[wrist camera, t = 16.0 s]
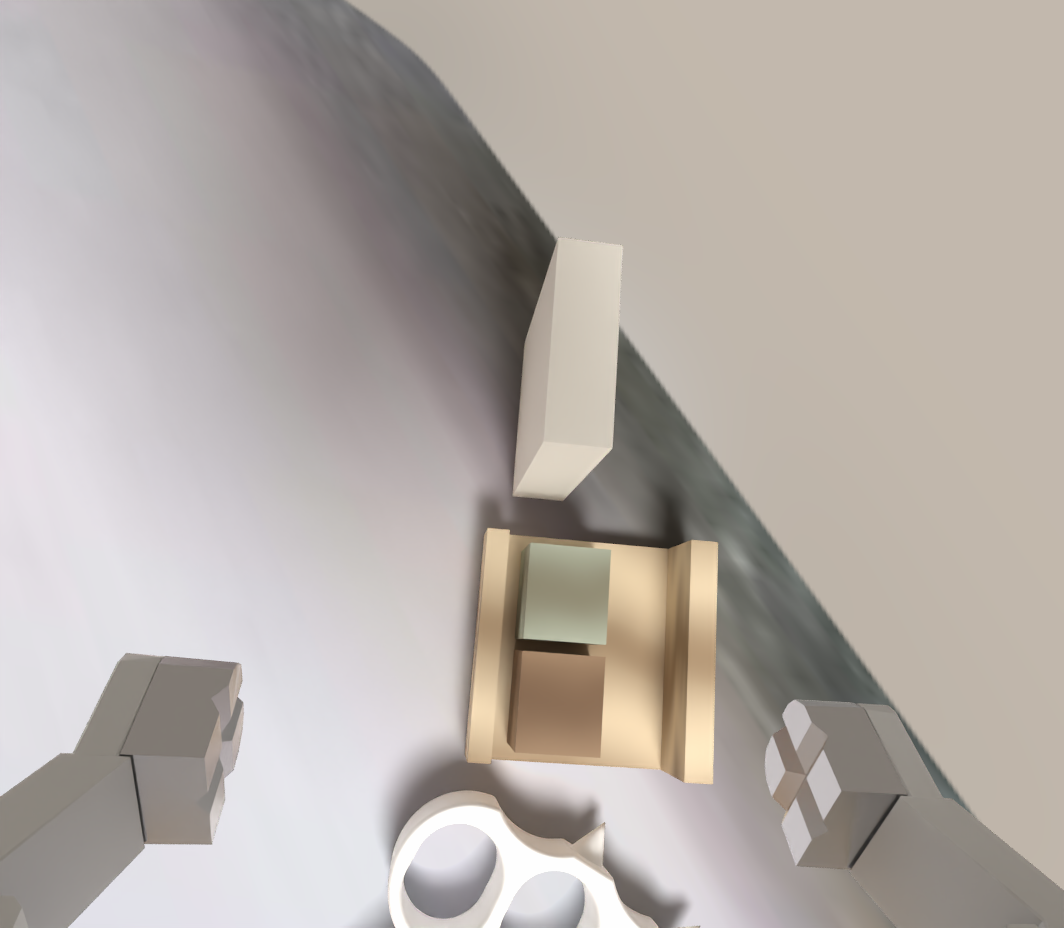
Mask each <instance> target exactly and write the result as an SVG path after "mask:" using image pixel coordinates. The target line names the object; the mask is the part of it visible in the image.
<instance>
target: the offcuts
mask: <svg viewBox="0 0 1064 928" xmlns="http://www.w3.org/2000/svg"><path fill="white" fill-rule="evenodd" d="M610 562H611V550H608V549H597V548H586V547H575V546H563V545H552V544H541V543H530V544H529V545H528V546H527V547H526V548H525V549H524V550H523V551H522V552H521V563H520V576H519V589H518V602H517V615H516V628H515V639H523V640H536V641H549V642H562V643H575V644H588V645H606V639H607V620H608V601H609V581H610ZM605 658H606V657H599V656H586V655H573V654H559V653H546V652H533V651H520V650H514V654H513V667H512V680H511V693H510V706H509V719H508V732H507V743H508V744H509V746H510V747H511V748H512V750H513V751H514V752H515V753H529V754H545V755H561V756H578V757H594V758H600V755H601V736H602V716H603V697H604V678H605Z"/></svg>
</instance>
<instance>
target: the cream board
mask: <svg viewBox="0 0 1064 928" xmlns="http://www.w3.org/2000/svg"><path fill="white" fill-rule="evenodd" d="M622 257H623V245H616V244H608V243H601V242H593V241H585V240H578V239H570V238H562V237H558V240H557V243H556V246H555V249H554V252H553V255H552V259H551V262H550V265H549V268H548V271H547V274H546V277H545V280H544V284H543V287H542V290H541V293H540V296H539V299H538V302H537V305H536V309H535V312H534V315H533V318H532V321H531V324H530V327H529V330H528V334H527V337H526V340H525V344H524V357H523V369H522V382H521V394H520V407H519V419H518V431H517V444H516V456H515V469H514V481H513V494H512V496H516V497H526V498H536V499H547V500H557V501H563V500H564V499H565V498H566V497H567V496H568V495H569V494H570V493H571V492H572V491H573V490H574V489H575V488H576V487H577V485H578V484H579V483H580V482H581V481H582V480H583V479H584V478H585V477H586V476H587V475H588V474H589V473H590V472H591V471H592V470H593V469H594V467H595V466H596V465H597V464H598V463H599V462H600V461H601V460H602V459H603V458H604V457H605V456H606V455H607V454H608V453H609V452H610V451H611V449H612V448H613V429H614V410H615V391H616V372H617V353H618V333H619V314H620V293H621V276H622Z"/></svg>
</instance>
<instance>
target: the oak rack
mask: <svg viewBox="0 0 1064 928" xmlns="http://www.w3.org/2000/svg"><path fill="white" fill-rule="evenodd" d="M530 543H541V544H552V545H563V546H575V547H586V548H597V549H608V550H611V562H610V581H609V601H608V620H607V639H606V645H588V644H575V643H562V642H549V641H536V640H523V639H515V628H516V615H517V602H518V589H519V576H520V563H521V552H522V551H523V550H524V549H525V548H526V547H527V546H528V545H529V544H530ZM717 565H718V542H709V541H698V540H690V541H687V542H685V543H682V544H680V545H677V546H675V547H672V548H670V549H663V548H652V547H641V546H630V545H619V544H608V543H597V542H586V541H575V540H564V539H553V538H542V537H531V536H520V535H510V530H506V529H495V528H488V529H487V531H486V532H485V534H484V542H483V553H482V565H481V576H480V587H479V599H478V610H477V622H476V633H475V644H474V656H473V667H472V678H471V690H470V701H469V712H468V724H467V735H466V747H465V757H466V760H467V763H484V764H491V759H496V760H513V761H529V762H545V763H562V764H578V765H594V766H611V767H627V768H643V769H660V770H662V771H664V772H666V773H668V774H670V775H671V776H673V777H675V778H677V779H679V780H681V781H682V782H684V783H700V784H713V748H714V703H715V657H716V611H717ZM514 650H520V651H533V652H546V653H559V654H573V655H586V656H599V657H606V658H605V678H604V697H603V716H602V736H601V755H600V758H594V757H578V756H561V755H545V754H529V753H515V752H514V751H513V750H512V748H511V747H510V746H509V744H508V743H507V732H508V719H509V706H510V693H511V680H512V667H513V654H514Z"/></svg>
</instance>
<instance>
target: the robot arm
mask: <svg viewBox="0 0 1064 928" xmlns="http://www.w3.org/2000/svg"><path fill="white" fill-rule="evenodd" d="M241 684H242V669H241V664H240V663H235V662H224V661H214V660H203V659H192V658H181V657H170V656H155V655H143V654H131V653H126V654H125V655H124V656H123V657H122V658H121V659H120V660H119V661H118V662H117V664H116V666H115V668H114V670H113V672H112V674H111V677H110V679H109V681H108V683H107V685H106V687H105V689H104V691H103V693H102V695H101V697H100V699H99V701H98V703H97V705H96V707H95V709H94V711H93V713H92V715H91V717H90V719H89V721H88V723H87V725H86V727H85V729H84V731H83V733H82V735H81V737H80V739H79V741H78V743H77V745H76V748H75V750H74V752H73V753H60V754H59V755H57V756H56V757H55V758H53V759H52V760H50V761H49V762H48V763H46V764H45V765H43V766H42V767H41V768H39V769H38V770H36V771H35V772H34V773H32V774H31V775H30V776H28V777H27V778H25V779H24V780H23V781H21V782H20V783H18V784H17V785H16V786H14V787H13V788H11V789H10V790H9V791H7V792H6V793H5V794H3V795H2V796H0V928H68V927H69V926H70V925H71V924H72V923H73V922H74V920H75V919H76V918H77V917H78V916H79V915H80V914H81V913H82V912H83V911H84V910H85V909H86V908H87V907H88V906H89V905H90V904H91V903H92V902H93V901H94V900H95V899H96V898H97V897H98V896H99V895H100V894H101V893H102V892H103V891H104V890H105V888H106V887H107V886H108V885H109V884H110V883H111V882H112V881H113V880H114V879H115V878H116V877H117V876H118V875H119V874H120V873H121V872H122V871H123V870H124V869H125V868H126V867H127V866H128V865H129V864H130V863H131V862H132V861H133V860H134V859H135V858H136V856H137V855H138V854H139V853H140V852H141V851H142V850H143V849H144V848H145V846H144V844H210V845H212V842H213V839H214V835H215V832H216V829H217V825H218V822H219V818H220V815H221V812H222V808H223V805H224V801H225V788H224V778H225V777H226V776H228V775H229V774H230V773H231V772H232V771H233V770H234V767H235V763H236V759H237V755H238V752H239V746H240V741H241V735H242V730H243V716H244V711H243V702H242V701H241V700H240V699H239V698H238V694H239V690H240V687H241ZM782 717H783V719H784V722H785V725H786V726H785V727H784V728H782V729H781V730H779V731H778V732H776V733H775V734H773V735H772V737H771V739H770V742H769V744H768V746H767V749H766V757H765V773H766V779H767V784H768V787H769V790H770V793H771V796H772V798H773V799H774V800H775V801H776V802H777V803H778V804H779V805H780V806H781V807H782V808H784V809H785V810H786V813H785V816H784V818H783V821H782V824H781V825H782V828H783V831H784V834H785V836H786V839H787V842H788V845H789V848H790V851H791V853H792V856H793V859H794V862H795V865H796V866H800V867H815V868H830V869H845V870H851V871H850V872H849V873H850V874H851V875H852V877H853V878H854V879H855V880H856V881H857V882H858V884H859V885H860V886H861V887H862V888H863V889H864V891H865V892H866V893H867V894H868V895H869V896H870V898H871V899H872V900H873V901H874V902H875V903H876V904H877V906H878V907H879V908H880V909H881V910H882V911H883V913H884V914H885V915H886V916H887V917H888V918H889V920H890V921H891V922H892V923H893V924H894V925H895V927H896V928H1064V890H1063V889H1061V888H1060V887H1059V886H1058V885H1056V884H1055V883H1054V882H1053V881H1052V880H1050V879H1049V878H1048V877H1047V876H1045V875H1044V874H1043V873H1042V872H1041V871H1039V870H1038V869H1037V868H1036V867H1034V866H1033V865H1032V864H1031V863H1029V862H1028V861H1027V860H1026V859H1025V858H1024V857H1022V856H1021V855H1020V854H1019V853H1017V852H1016V851H1015V850H1014V849H1013V848H1011V847H1010V846H1009V845H1008V844H1007V843H1005V842H1004V841H1003V840H1001V839H1000V838H999V837H998V836H997V835H996V834H994V833H993V832H992V831H991V830H989V829H988V828H987V827H986V826H985V825H983V824H982V823H981V822H980V821H978V820H977V819H976V818H975V817H974V816H972V815H971V814H970V813H969V812H968V811H966V810H965V809H964V808H963V807H961V806H960V805H959V804H958V803H957V802H955V801H954V800H953V799H949V798H943V797H942V796H941V794H940V792H939V790H938V788H937V786H936V785H935V783H934V781H933V779H932V777H931V776H930V774H929V772H928V770H927V768H926V766H925V765H924V763H923V761H922V759H921V757H920V756H919V754H918V752H917V750H916V748H915V746H914V745H913V743H912V741H911V739H910V737H909V736H908V734H907V732H906V730H905V728H904V726H903V725H902V723H901V721H900V719H899V717H898V716H897V714H896V712H895V711H894V710H893V709H892V708H890V707H889V706H888V705H874V704H858V703H857V704H854V703H848V702H830V701H812V700H794V701H792V702H791V703H789V704H788V705H787V707H786V709H785V711H784V713H783V715H782Z"/></svg>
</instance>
